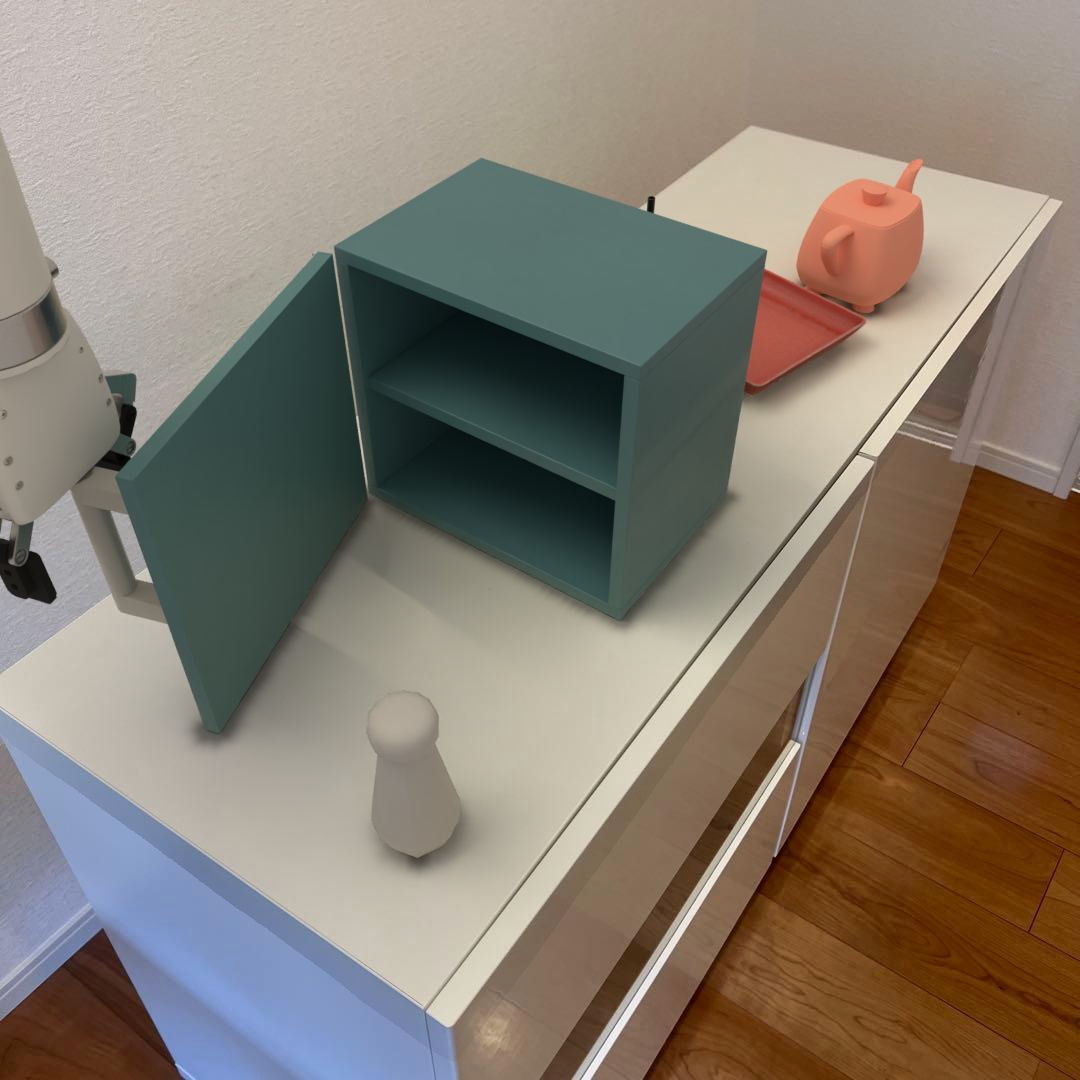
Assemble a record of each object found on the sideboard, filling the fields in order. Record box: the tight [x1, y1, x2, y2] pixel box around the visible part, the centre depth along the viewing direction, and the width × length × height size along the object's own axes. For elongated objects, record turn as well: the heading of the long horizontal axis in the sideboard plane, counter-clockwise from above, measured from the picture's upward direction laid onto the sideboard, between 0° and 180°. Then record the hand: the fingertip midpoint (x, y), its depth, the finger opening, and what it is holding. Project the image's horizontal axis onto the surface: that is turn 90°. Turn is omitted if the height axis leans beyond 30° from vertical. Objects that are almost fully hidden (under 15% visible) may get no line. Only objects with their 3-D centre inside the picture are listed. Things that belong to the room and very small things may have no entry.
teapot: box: [795, 158, 925, 314], centre depth 118 cm, size 20×12×12 cm, turn 140°
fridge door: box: [69, 251, 369, 734], centre depth 79 cm, size 8×26×24 cm, turn 163°
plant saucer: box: [744, 268, 867, 396], centre depth 112 cm, size 18×18×3 cm
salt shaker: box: [366, 689, 461, 859], centre depth 67 cm, size 6×6×13 cm
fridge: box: [333, 157, 768, 621], centre depth 88 cm, size 18×26×24 cm
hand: (81, 546), depth 71 cm, fingers open, 8 cm apart
